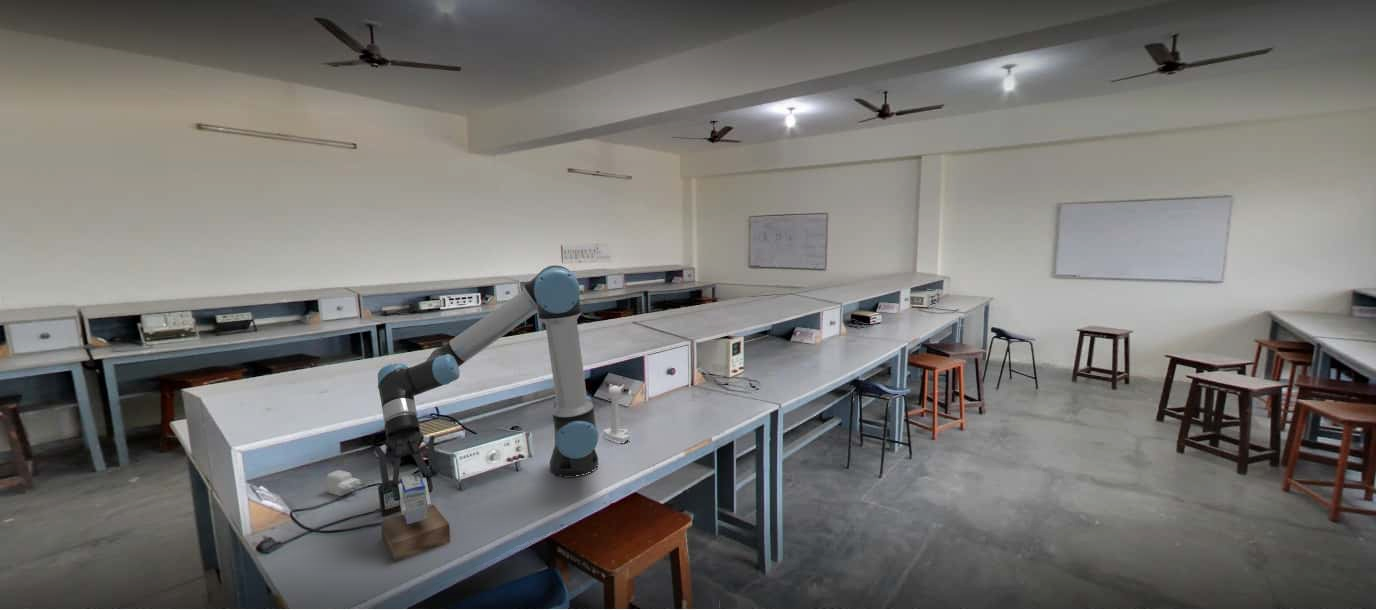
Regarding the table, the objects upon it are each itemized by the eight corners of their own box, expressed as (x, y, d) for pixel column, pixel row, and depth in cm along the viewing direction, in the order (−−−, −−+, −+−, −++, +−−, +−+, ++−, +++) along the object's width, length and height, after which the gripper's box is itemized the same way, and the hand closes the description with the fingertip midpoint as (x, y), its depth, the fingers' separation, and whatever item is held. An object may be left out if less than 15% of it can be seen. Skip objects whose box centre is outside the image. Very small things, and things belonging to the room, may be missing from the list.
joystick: (600, 436, 194) (600, 383, 191) (616, 431, 199) (616, 379, 196) (620, 445, 186) (620, 390, 183) (636, 439, 192) (636, 385, 189)
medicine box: (401, 510, 129) (398, 477, 128) (421, 505, 132) (419, 472, 131) (406, 525, 123) (404, 490, 122) (427, 519, 126) (425, 484, 124)
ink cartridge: (382, 517, 138) (379, 488, 137) (380, 513, 140) (377, 485, 139) (403, 510, 142) (400, 482, 140) (401, 507, 143) (398, 479, 142)
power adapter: (369, 494, 150) (367, 474, 149) (352, 502, 146) (351, 482, 145) (341, 486, 154) (339, 467, 153) (324, 494, 150) (323, 474, 149)
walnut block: (434, 522, 137) (433, 504, 136) (450, 543, 128) (449, 524, 127) (382, 540, 129) (380, 521, 128) (395, 563, 120) (393, 543, 119)
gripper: (436, 420, 142) (454, 504, 131) (360, 434, 132) (372, 526, 121) (440, 407, 137) (458, 492, 126) (361, 420, 127) (373, 514, 116)
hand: (416, 509), depth 124 cm, fingers closed on medicine box, 4 cm apart
